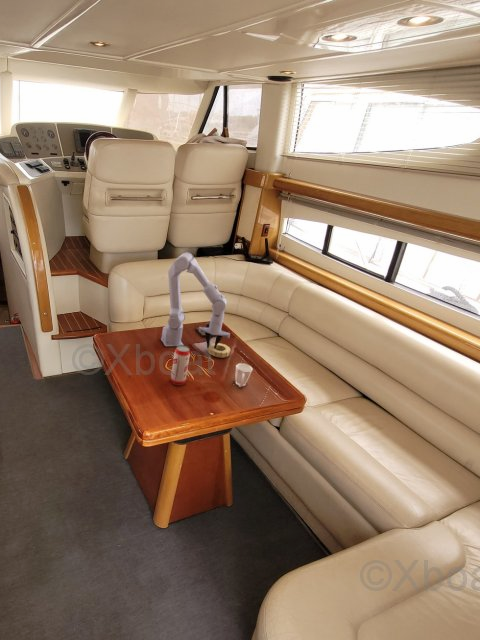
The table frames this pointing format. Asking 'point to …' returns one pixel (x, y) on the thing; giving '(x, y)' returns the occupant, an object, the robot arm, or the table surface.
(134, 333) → the table surface
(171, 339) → the robot arm
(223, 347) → the yellow gear ring
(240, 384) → the cup
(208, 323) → the stand
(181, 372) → the beer can
